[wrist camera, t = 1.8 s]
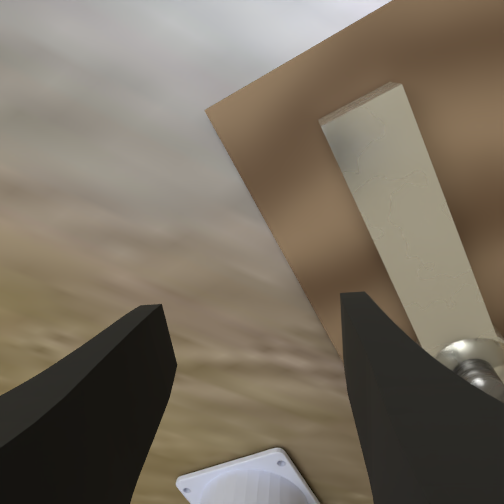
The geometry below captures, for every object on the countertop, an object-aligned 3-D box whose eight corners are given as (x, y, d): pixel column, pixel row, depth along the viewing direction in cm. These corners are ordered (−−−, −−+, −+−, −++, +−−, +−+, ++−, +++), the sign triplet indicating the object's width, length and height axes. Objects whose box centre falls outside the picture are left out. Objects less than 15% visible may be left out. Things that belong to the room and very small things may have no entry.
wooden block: (510, 363, 21) (547, 416, 17) (430, 388, 22) (452, 441, 19) (402, 74, 16) (428, 77, 13) (306, 125, 17) (309, 139, 14)
